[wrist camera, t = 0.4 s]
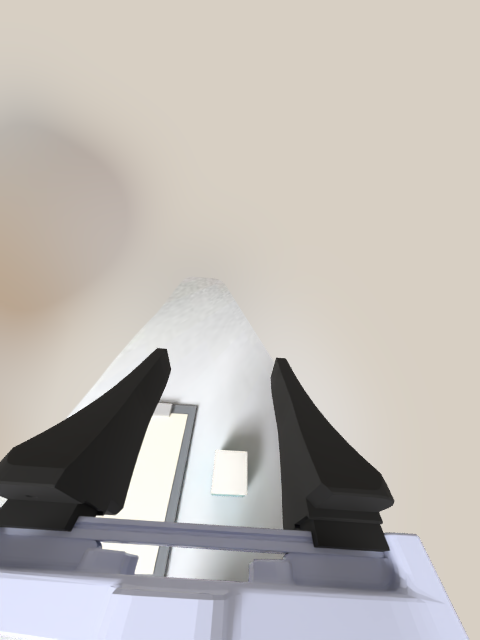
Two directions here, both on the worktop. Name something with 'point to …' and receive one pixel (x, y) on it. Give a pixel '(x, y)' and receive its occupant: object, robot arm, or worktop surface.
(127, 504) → the clipboard
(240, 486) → the teal-topped white block
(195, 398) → the worktop surface
